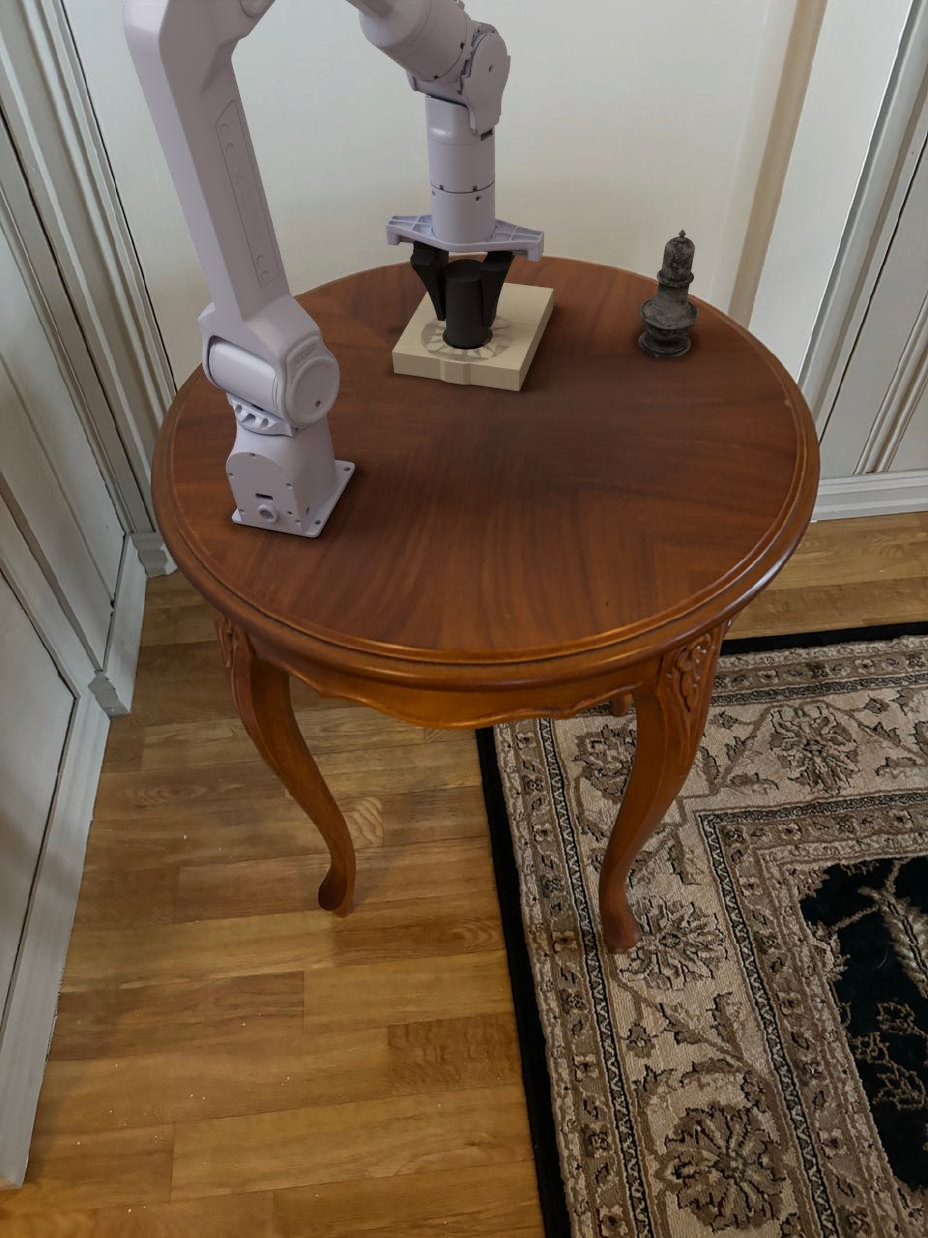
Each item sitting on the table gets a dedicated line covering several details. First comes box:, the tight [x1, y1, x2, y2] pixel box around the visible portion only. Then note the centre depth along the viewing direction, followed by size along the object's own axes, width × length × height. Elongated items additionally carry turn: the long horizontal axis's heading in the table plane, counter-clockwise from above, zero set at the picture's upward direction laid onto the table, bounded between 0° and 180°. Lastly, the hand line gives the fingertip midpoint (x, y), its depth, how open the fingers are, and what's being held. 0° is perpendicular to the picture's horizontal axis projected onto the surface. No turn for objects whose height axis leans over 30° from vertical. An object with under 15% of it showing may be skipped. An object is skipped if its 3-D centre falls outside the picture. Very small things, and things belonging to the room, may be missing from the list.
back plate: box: [391, 282, 555, 392], centre depth 92 cm, size 15×13×2 cm
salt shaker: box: [638, 229, 700, 359], centre depth 87 cm, size 6×6×12 cm
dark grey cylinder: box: [443, 258, 488, 348], centre depth 86 cm, size 4×4×7 cm
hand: (467, 318), depth 88 cm, fingers closed on dark grey cylinder, 4 cm apart
